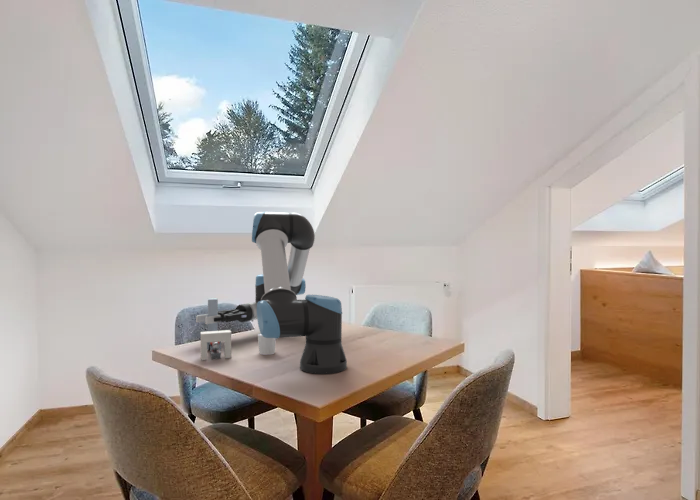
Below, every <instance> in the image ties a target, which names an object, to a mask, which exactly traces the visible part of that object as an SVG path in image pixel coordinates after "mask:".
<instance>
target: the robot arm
mask: <svg viewBox="0 0 700 500" xmlns="http://www.w3.org/2000/svg"><path fill="white" fill-rule="evenodd" d="M315 236H316V235H315V231H314V228H313V225H312V224H311V222H310V221H309V220H308V219H307V217H305V216H304V215H302V214H300V213H298V212H278V211H276V212H275V211H258V212H256V213H254V214H253V222H252V230H251V242H252V243H255V244H256V246H257V248H258V249H259V250H260V253H261V254H260V255H261V264H262V266H261V267H262V273H261V274H257V275H256V276H255V284H254V285H255V286H254V287H255V291H254V292H255V298H254V299H255V302H248V303H243V304H242V303H241V304H238V305H237V306H236V307H235V308H233V309H232V308H231V309H228V310H227V309H224V310H223V309H222V310H218V315H215V316H209V317H208V313H205V314H198V315H196V316H195V323H197V324H198V323H204V324H205V325H208V324H212V323H217V322H218V323H220V322H222V323H229V322H235V321H238V322H240V323H247V322H249V321H250V322H254V321H257V325H258V329H259V332H260V333H261V335H262V336H263V337H265V338H275V339H276V340H277V339H279V338H281V339H283V338H296V337H298V338H299V337H305V345H304V349H303V351H302V354H301V357H300V360H299V368H300V370H302V371H303V372H305V373H309V374H317V375H330V374H337V373H341V372H343V371H345V370H346V369H347V367H348V363H347V362H348V360H347V356H346V354H345V350H344V347H343V344H342V342H343V341H342V336H343V334H342V331H343V329H342V328H343V325H342V323H343V319H342V317H343V310H342V309H343V308H342V301H341V300H340V299H339V298H336V297H334V296H328V295H320V294H307V295H306V296H305V297H304V298H305V299H298V297H297V296H298V295H299V296H301V295H304V294H305V293H306V280H305V278H303V277H304V275H305V269H306V265H307V261H308V257H309V253H310V249H312V247H313V246H314V243H315V239H316V238H315ZM287 244H290V250H289V256H288V261H287V254H286V253H287V252H286V247H287Z"/></svg>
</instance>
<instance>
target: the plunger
mask: <svg viewBox="0 0 700 500" xmlns="http://www.w3.org/2000/svg"><path fill="white" fill-rule="evenodd" d="M210 344H211V346H212V347H213V349H214V350H218V349H219V342H210Z"/></svg>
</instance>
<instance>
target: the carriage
mask: <svg viewBox="0 0 700 500" xmlns="http://www.w3.org/2000/svg"><path fill="white" fill-rule="evenodd" d="M218 301H219V300H218V298H216V297H214V298H212V297H211V298H207V314H208V317H209V316H215V315H218V311H219V309H218V308H219V307H218V303H219V302H218ZM218 323H219V322H217V323H212V324H207V330H206V331H205V332H207V331H220V330H219V328H218V327H219V326H218V325H219V324H218ZM209 345H211V344H210V342H207V351H210V349H209ZM219 349H220V350H221V349H222V341H221V342H219Z"/></svg>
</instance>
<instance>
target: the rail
mask: <svg viewBox="0 0 700 500" xmlns="http://www.w3.org/2000/svg"><path fill="white" fill-rule="evenodd" d="M209 353H210V358H211V360H220V359H222V353H221V349H218V350H214V349H213V347H212V346H211V345H209Z"/></svg>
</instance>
